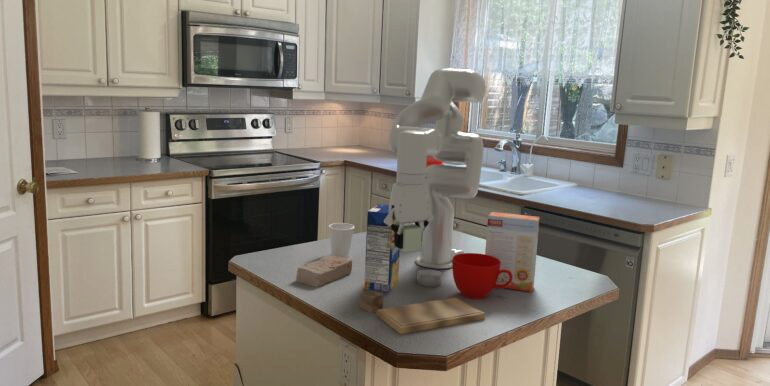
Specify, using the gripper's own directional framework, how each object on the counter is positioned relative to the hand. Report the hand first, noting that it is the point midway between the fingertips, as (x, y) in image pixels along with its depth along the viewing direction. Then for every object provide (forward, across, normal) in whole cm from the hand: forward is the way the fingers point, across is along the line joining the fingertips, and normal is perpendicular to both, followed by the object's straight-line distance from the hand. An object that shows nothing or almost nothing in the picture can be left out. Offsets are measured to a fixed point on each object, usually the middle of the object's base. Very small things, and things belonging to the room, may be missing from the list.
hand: (407, 245), depth 161 cm
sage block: (+1, 0, 0) cm, 1 cm away
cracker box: (+15, -32, +4) cm, 36 cm away
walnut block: (+14, +13, +5) cm, 19 cm away
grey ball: (+15, -12, -7) cm, 20 cm away
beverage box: (+15, +2, -10) cm, 18 cm away
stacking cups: (+16, -40, -50) cm, 66 cm away
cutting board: (+14, +2, +15) cm, 21 cm away
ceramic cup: (+15, -19, +8) cm, 25 cm away
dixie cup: (+15, +1, -40) cm, 43 cm away
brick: (+15, +14, -22) cm, 30 cm away
